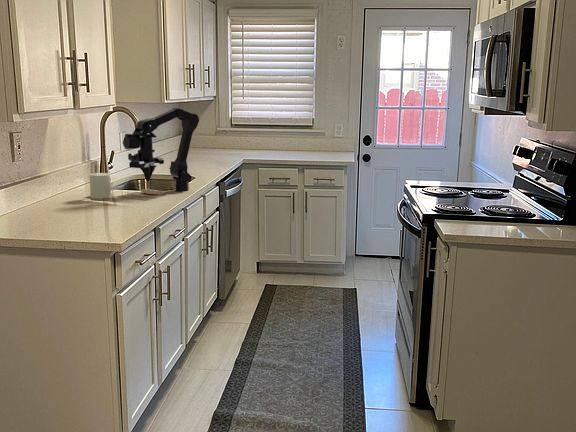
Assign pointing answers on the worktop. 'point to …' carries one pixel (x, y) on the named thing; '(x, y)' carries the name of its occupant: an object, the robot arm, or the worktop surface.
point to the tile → (152, 191)
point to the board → (141, 196)
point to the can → (100, 186)
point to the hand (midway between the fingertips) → (147, 180)
